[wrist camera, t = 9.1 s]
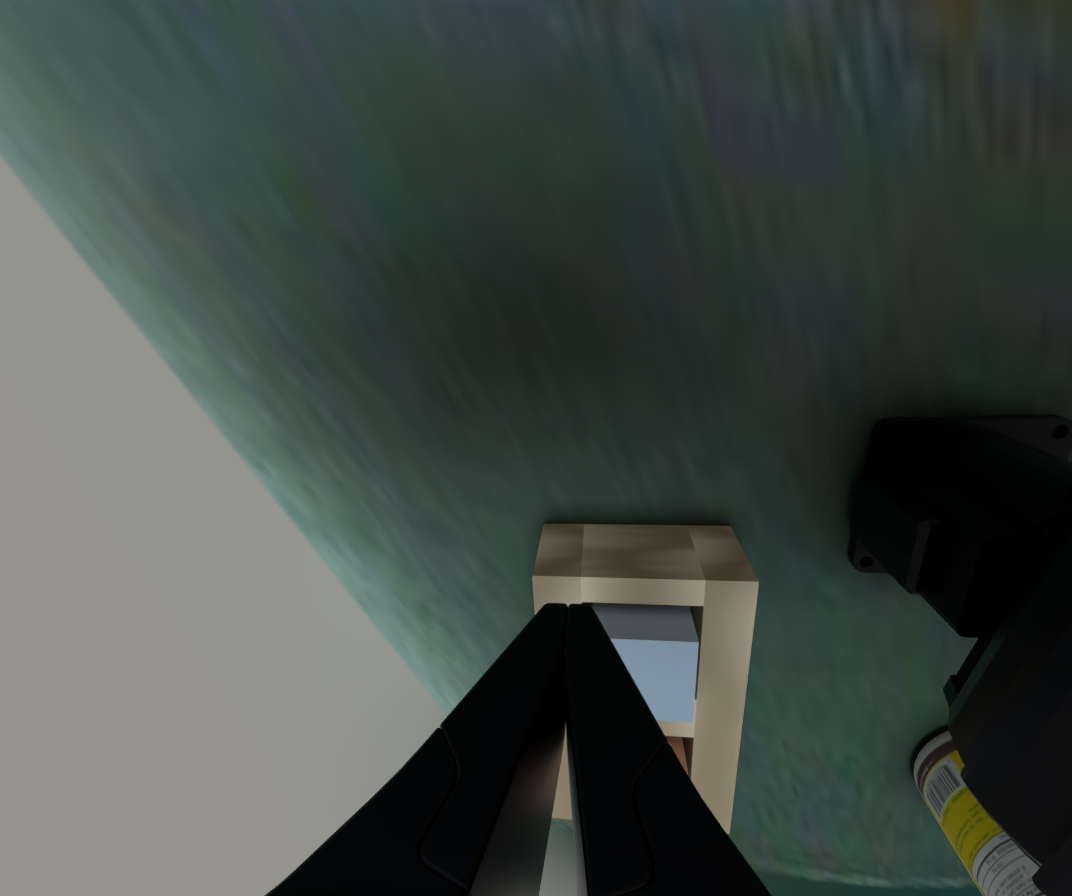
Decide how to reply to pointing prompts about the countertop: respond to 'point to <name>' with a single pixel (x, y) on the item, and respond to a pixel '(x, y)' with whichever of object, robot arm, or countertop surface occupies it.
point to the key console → (668, 579)
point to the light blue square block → (656, 653)
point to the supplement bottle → (971, 824)
